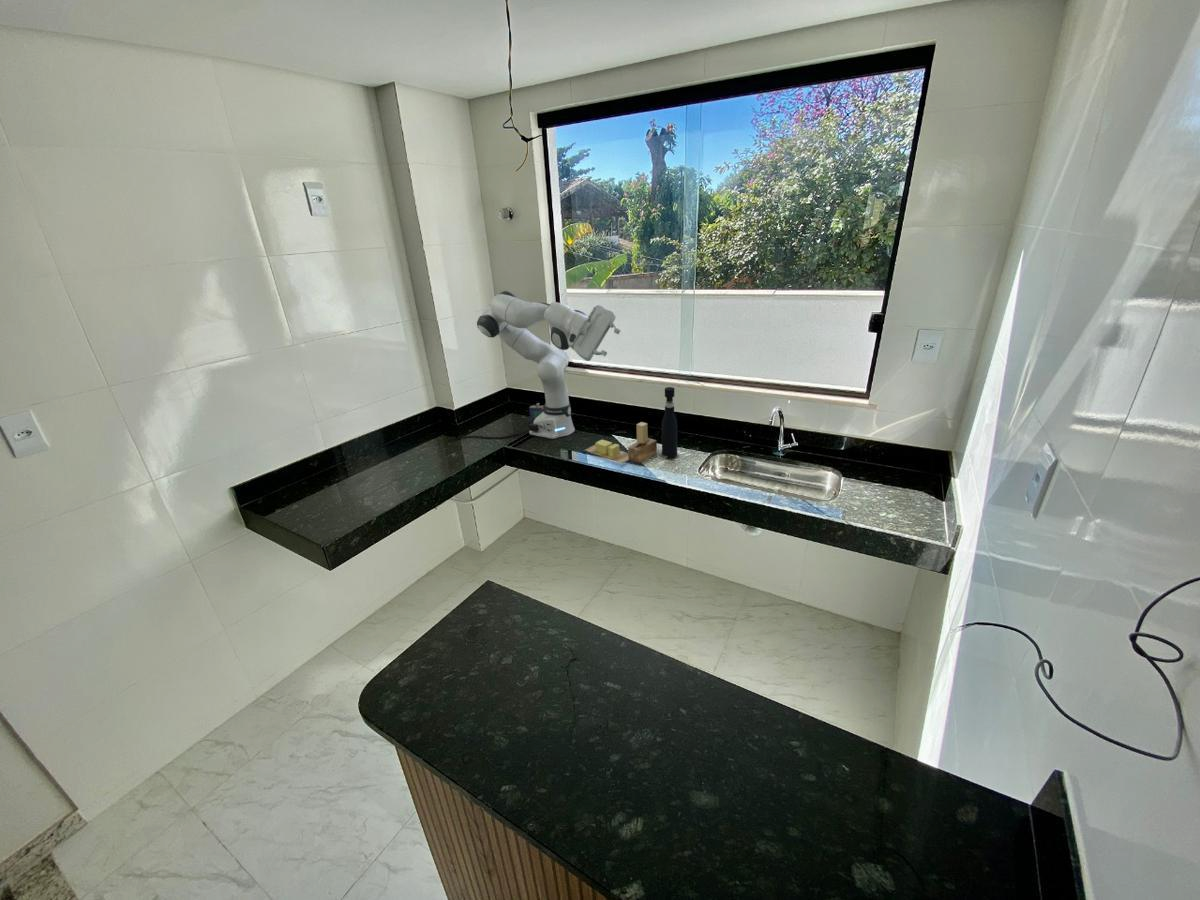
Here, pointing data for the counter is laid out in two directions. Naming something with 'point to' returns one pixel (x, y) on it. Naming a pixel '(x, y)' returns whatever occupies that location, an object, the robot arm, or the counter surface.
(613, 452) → the butter pat
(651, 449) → the knife block
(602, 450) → the butter
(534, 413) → the flask
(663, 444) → the dark water bottle
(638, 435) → the knife
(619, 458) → the board
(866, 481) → the counter surface
